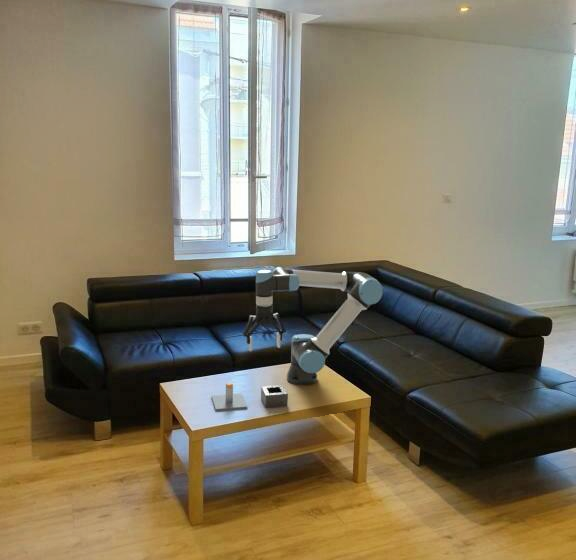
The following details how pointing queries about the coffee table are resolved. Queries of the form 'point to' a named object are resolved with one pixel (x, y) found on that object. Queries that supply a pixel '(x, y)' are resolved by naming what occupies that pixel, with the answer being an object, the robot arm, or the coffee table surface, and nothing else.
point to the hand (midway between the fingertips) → (264, 348)
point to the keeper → (229, 400)
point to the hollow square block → (274, 396)
